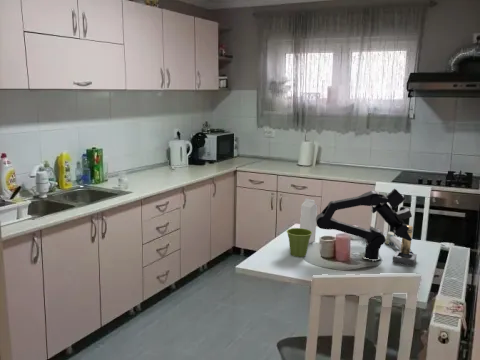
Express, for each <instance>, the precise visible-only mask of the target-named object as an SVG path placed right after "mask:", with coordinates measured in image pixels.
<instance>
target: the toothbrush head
mask: <svg viewBox="0 0 480 360" xmlns="http://www.w3.org/2000/svg"><path fill="white" fill-rule="evenodd" d="M384 236H385V243H384V244H386V245H388V244H390V245H389V246H395V247H396V248H397V249H398V251H401V244H402V240H401V239H399V238H398V237H397V236H396V235H395V233H394V231H388V232H387V233H386V235H384ZM410 253H411V254H414V252H413V250H412V249H411V248H410Z"/></svg>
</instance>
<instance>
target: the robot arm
mask: <svg viewBox="0 0 480 360" xmlns="http://www.w3.org/2000/svg"><path fill="white" fill-rule="evenodd" d="M404 201H406V198H405V197H404V196H403V195H402V194H401V193H400V192H399V191H398V190H397V188H394V189H392V190H391V191H390V192H389V193H388V194H386V195H385V194H381V193H378V192H377V191H376V190H369V191H367V192H364V193H362V194H361V195H359V196H353V197H349V198H343V199H338V200H331V201H329V202H328V204H327V205H326V206H325V207H324V209H322V211H321V212H320V213H317V217H316V227H318V228H320V229H322V230H328V231H329V230H335V231H338V232H341V233H342V232H343V233H346V234H349V235H351V236H356V237H359V238H363V239H364V240H365V243H366V245H365V252H364V256H365V257H366V258H369V259H378V257H379V255H380V249H381V247H382V246H383V245H384V244H386V243H385V236H386V235H384V233H383V232H382V231H381V230H380V228H376V227H374V226H369V228H363V227H359V226H357V225H353V224H350V223H348V222H347V223H346V222H343V221H339V220H336V219H335V218H333V216H334V214H335V212H336V211H340V210H344V209H349V208H355V207H359V206H361V207H362V206H364V207H368V206H369V207H371V212H372V214H376V213H377V214H378V215H380V217H381V218H382V219H383V220H384V222H385V223H387V224H388V226H389V227H390V229H392V230H393V233H394V234H395V237H396V238H399V237H400V238H401V239H402V238H404V239H406V240H408V241H411V242H412V238H411V237H410V236H409V234H408V232H407V230H409V228H408V226H407V225H408V224H406V223H405V222H404V220H406V219H410V218H412V217H413V215H412V211H411V210H410V209H409V208H407V207H406V208H405V207H404V206H399V205H401V204H402V203H403V202H404ZM398 206H399V210H398V211H395V210H393V208H398ZM391 207H392V208H391Z"/></svg>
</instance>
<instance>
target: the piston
mask: <svg viewBox="0 0 480 360" xmlns="http://www.w3.org/2000/svg"><path fill="white" fill-rule="evenodd" d="M406 225H407V226H408V228H409V230H407V232H408V234H409V236H410V237H411V239H412V237H413V230H414V229H413V227H414V226H413V225H409V224H406ZM401 242H402V244H401V253H403V254H410V249H411V246H412V240H411V241H408V240H406V239H404V238H402V237H401Z"/></svg>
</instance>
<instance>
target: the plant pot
mask: <svg viewBox="0 0 480 360" xmlns="http://www.w3.org/2000/svg"><path fill="white" fill-rule="evenodd" d="M286 233H287V236H288V243H289V252H290V253H289V254H290V256H293V257H299V258H302V257H305V256H306V255H307V254H308V253H307V252H308V247H309V244H310V243H309V239H310V236H311V234H312V231H310V230H308V229H303V228H300V227H294V228H289V229H287V230H286ZM308 243H309V244H308Z"/></svg>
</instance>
